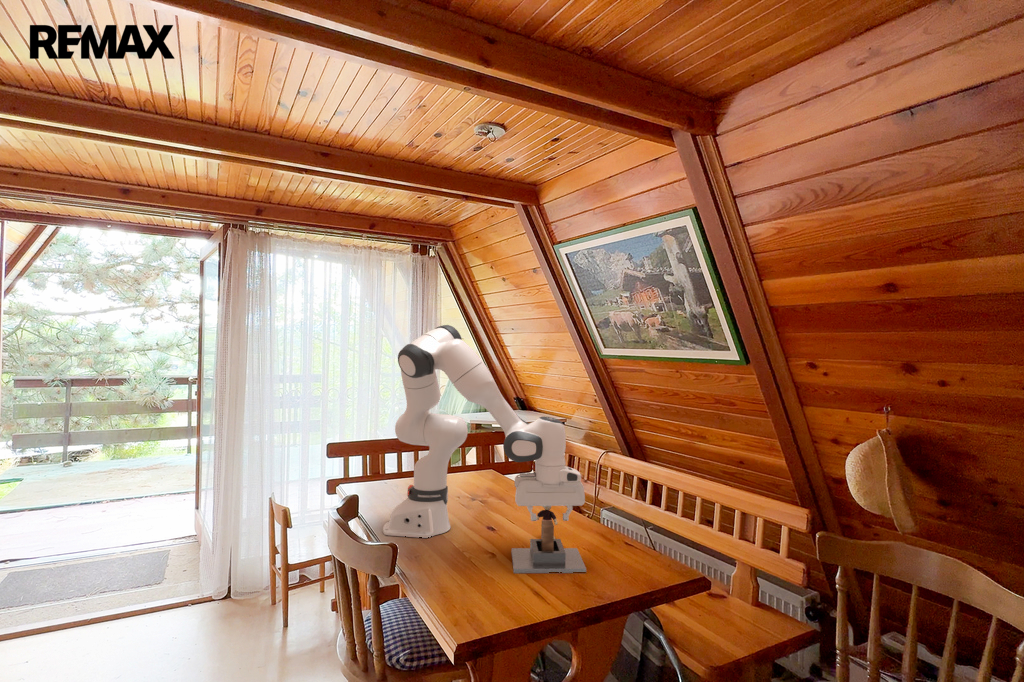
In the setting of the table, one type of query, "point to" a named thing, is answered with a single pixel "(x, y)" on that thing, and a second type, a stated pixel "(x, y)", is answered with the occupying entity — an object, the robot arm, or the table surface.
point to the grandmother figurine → (547, 515)
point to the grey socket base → (547, 559)
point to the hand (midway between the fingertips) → (549, 520)
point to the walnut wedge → (547, 536)
